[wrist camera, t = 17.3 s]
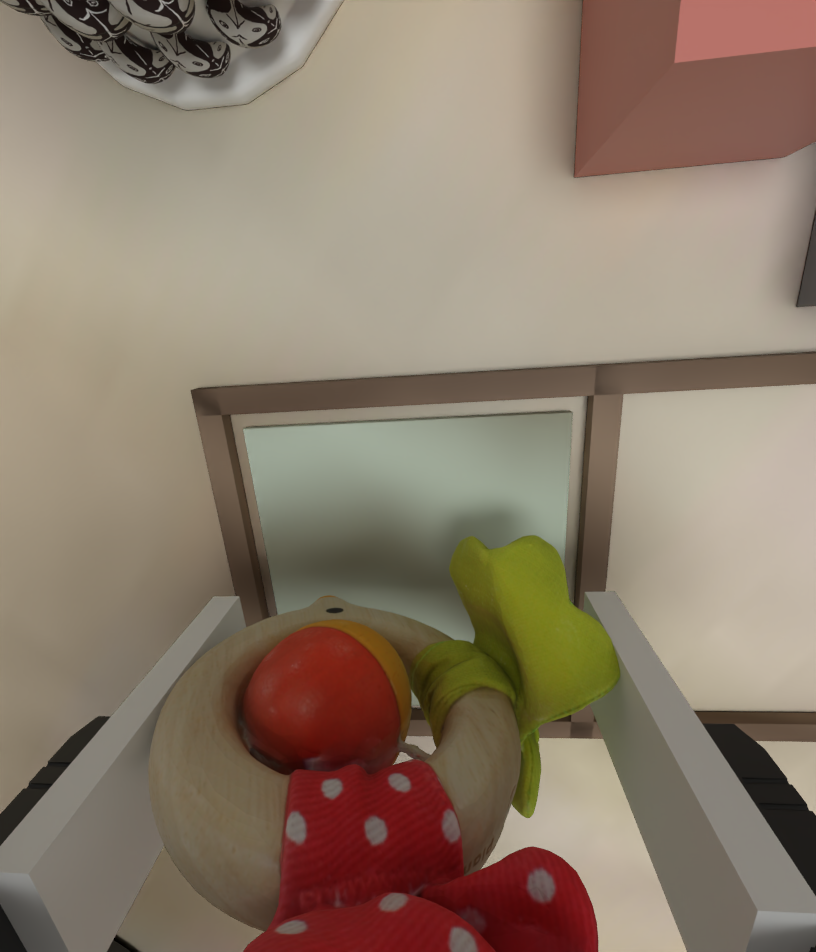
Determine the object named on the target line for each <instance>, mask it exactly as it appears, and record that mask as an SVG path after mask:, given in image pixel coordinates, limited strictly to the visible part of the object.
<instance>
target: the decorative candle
mask: <svg viewBox="0 0 816 952" xmlns="http://www.w3.org/2000/svg"><path fill="white" fill-rule="evenodd" d="M0 1H1V2H2V3H4V4H6V5H8V6H9V7H11V8H13V9H15V10H16V11H19V12H22V13H26V14H30V15H36V16H40V17H41V19H42V21H43V22H44V24H45V25H46V27H47V28H48V30H49V31H50V32H51V34H52V35H53V36H54V37H55V38H56V39H57V40H58V42H59V43H60V44H61V45H63V46H64V47H65V48H66V49H67V50H68V51H69V52H70V53H72V54H74V55H76V56H78V57H79V58H81V59H85V60H89V61H96V62H97V63H98V64H99V65H100V66H101V67H102V68H103V69H104V70H106V71H107V72H108V73H109V74H110V75H111V76H112V77H113V78H114V79H115V80H116V81H118V82H119V83H120V84H121V85H123V86H124V87H126V88H129V89H131V90H134V91H137V92H139V93H142V94H144V95H147V96H150V97H152V98H155V99H157V100H160V101H163V102H165V103H168V104H171V105H173V106H176V107H178V108H181V109H184V110H186V111H187V110H196V109H205V108H215V107H224V106H233V105H242V104H248V103H250V102H251V101H253V100H254V99H256V98H257V97H259V96H260V95H262V94H263V93H264V92H266V91H267V90H269V89H270V88H272V87H273V86H275V85H276V84H278V83H279V82H281V81H282V80H283V79H285V78H286V77H288V76H289V75H291V74H292V73H294V72H295V71H297V70H298V69H300V68H301V67H303V65H304V63H305V62H306V60H307V58H308V57H309V55H310V54H311V52H312V50H313V49H314V47H315V46H316V44H317V42H318V41H319V39H320V38H321V36H322V34H323V33H324V31H325V29H326V28H327V26H328V25H329V23H330V21H331V20H332V18H333V17H334V15H335V13H336V12H337V10H338V8H339V7H340V5H341V4H342V2H343V0H0Z"/></svg>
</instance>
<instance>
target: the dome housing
mask: <svg viewBox="0 0 816 952" xmlns="http://www.w3.org/2000/svg"><path fill="white" fill-rule="evenodd" d="M815 141H816V0H583V8H582V29H581V50H580V70H579V91H578V112H577V132H576V153H575V173H574V177H583V176H594V175H604V174H614V173H625V172H635V171H646V170H656V169H667V168H677V167H687V166H698V165H708V164H719V163H729V162H739V161H750V160H760V159H771V158H781V157H786V156H788V155H790V154H792V153H794V152H796V151H798V150H800V149H802V148H804V147H806V146H807V145H809V144H811V143H813V142H815ZM805 306H816V216H815V221H814V226H813V231H812V236H811V241H810V246H809V250H808V255H807V260H806V265H805V270H804V275H803V280H802V285H801V290H800V295H799V300H798V304H797V307H805Z"/></svg>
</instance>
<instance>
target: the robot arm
mask: <svg viewBox="0 0 816 952" xmlns="http://www.w3.org/2000/svg"><path fill="white" fill-rule="evenodd" d="M583 612H585V613H587V614H589V615H590V616H592V617H593V618H594V619H596V620H597V621H598V622H599V623H600V624H601V625H602V626H603V628H604V629H605V630H606V632H607V633H608V635H609V637H610V638H611V640H612V643H613V646H614V649H615V652H616V656H617V659H618V663H619V668H620V678H619V680H618V682H617V684H616V685H615V687H614V688H613V689H612V690H611V691H610V692H609V693H607V694H606V695H605V696H604V697H602V698H600V699H598V700H596V701H594V702H592V703H591V704H590V706H591V708H592V711H593V714H594V716H595V719H596V721H597V724H598V726H599V729H600V731H601V734H602V736H603V739H604V741H605V744H606V747H607V749H608V752H609V754H610V757H611V759H612V762H613V764H614V767H615V769H616V772H617V775H618V777H619V780H620V782H621V785H622V787H623V790H624V792H625V795H626V797H627V800H628V802H629V805H630V808H631V810H632V813H633V815H634V818H635V820H636V823H637V825H638V828H639V830H640V833H641V835H642V838H643V841H644V843H645V846H646V848H647V851H648V853H649V856H650V858H651V861H652V863H653V866H654V869H655V871H656V874H657V876H658V879H659V881H660V884H661V886H662V889H663V891H664V894H665V896H666V899H667V902H668V904H669V907H670V909H671V912H672V914H673V917H674V919H675V922H676V924H677V927H678V930H679V932H680V935H681V937H682V940H683V942H684V945H685V947H686V950H687V952H816V815H815V814H814V813H813V811H809V809H808V807H807V804H806V802H805V801H804V800H803V798H802V797H801V796H800V795H799V793H798V792H797V791H796V789H795V788H794V787H793V785H790V784H789V783H788V781H787V778H786V776H785V775H784V774H783V772H782V771H781V770H780V768H779V767H778V766H777V765H776V763H775V762H774V761H773V759H772V758H771V757H770V755H769V754H768V753H767V752H766V750H765V749H764V748H763V747H762V746H760V745H759V744H758V743H757V742H756V741H754V740H753V739H752V738H751V737H749V736H748V735H747V734H746V733H745V732H743V731H742V730H741V729H740V728H738V727H737V726H736V725H735V724H712V723H701V721H700V720H699V718H698V717H697V715H696V714H695V712H694V711H693V709H692V708H691V706H690V705H689V703H688V702H687V700H686V699H685V697H684V696H683V694H682V692H681V691H680V689H679V688H678V686H677V685H676V683H675V682H674V680H673V679H672V677H671V676H670V674H669V673H668V671H667V670H666V668H665V667H664V665H663V664H662V662H661V661H660V659H659V658H658V656H657V655H656V653H655V651H654V650H653V648H652V647H651V645H650V644H649V642H648V641H647V639H646V638H645V636H644V635H643V633H642V632H641V630H640V629H639V627H638V626H637V624H636V623H635V621H634V620H633V618H632V617H631V615H630V614H629V612H628V610H627V609H626V607H625V606H624V604H623V603H622V601H621V600H620V598H619V597H618V595H617V594H616V592H615V591H610V592H585V596H584V609H583ZM244 628H246V625H245V620H244V615H243V611H242V606H241V602H240V597H239V596H214V597H213V598H212V599H211V600H210V601H209V602H208V604H207V605H206V606H205V607H204V608H203V609H202V611H201V612H200V613H199V614H198V615H197V616H196V618H195V619H194V620H193V621H192V622H191V623H190V625H189V626H188V627H187V628H186V629H185V630H184V632H183V633H182V634H181V635H180V636H179V637H178V639H177V640H176V641H175V642H174V643H173V645H172V646H171V647H170V648H169V649H168V650H167V652H166V653H165V654H164V655H163V656H162V657H161V659H160V660H159V661H158V662H157V663H156V664H155V666H154V667H153V668H152V669H151V670H150V671H149V673H148V674H147V675H146V676H145V677H144V678H143V680H142V681H141V682H140V683H139V684H138V685H137V687H136V688H135V689H134V690H133V691H132V692H131V694H130V695H129V696H128V697H127V698H126V700H125V701H124V702H123V703H122V704H121V705H120V707H119V708H118V709H117V710H116V711H115V712H114V714H113V715H112V716H111V717H105V716H98V717H97V718H95V719H94V720H93V721H91V722H90V723H89V724H87V725H86V726H85V727H83V728H82V729H81V730H79V731H78V732H77V733H75V734H74V735H73V736H71V737H70V738H69V739H68V740H67V742H66V743H65V744H64V745H63V746H62V747H61V748H60V749H59V750H58V751H57V753H56V754H55V755H54V756H53V757H52V758H51V759H50V760H49V761H48V765H47V766H46V767H43V768H42V769H41V770H40V771H39V772H38V773H37V774H36V776H35V777H34V778H33V779H32V780H31V781H30V782H29V785H28V787H27V788H26V789H23V790H22V791H21V792H20V793H19V794H18V795H17V796H16V798H15V799H14V800H13V801H12V802H11V803H10V804H9V805H8V806H7V807H6V809H5V810H4V811H3V812H2V813H1V814H0V952H130V951H129V950H128V949H126V948H125V947H123V946H122V945H120V944H119V943H117V942H115V941H114V940H113V939H114V938H115V936H116V934H117V932H118V930H119V928H120V926H121V925H122V923H123V921H124V919H125V917H126V915H127V913H128V912H129V910H130V908H131V906H132V904H133V902H134V900H135V899H136V897H137V895H138V893H139V891H140V889H141V887H142V886H143V884H144V882H145V880H146V878H147V876H148V874H149V872H150V871H151V869H152V867H153V865H154V863H155V861H156V859H157V858H158V856H159V854H160V852H161V850H162V848H163V846H164V843H163V841H162V839H161V837H160V834H159V832H158V829H157V825H156V822H155V819H154V815H153V812H152V806H151V800H150V793H149V778H148V767H149V756H150V748H151V743H152V739H153V735H154V731H155V726H156V723H157V720H158V718H159V715H160V712H161V709H162V707H163V705H164V703H165V701H166V699H167V697H168V696H169V694H170V692H171V691H172V689H173V688H174V686H175V685H176V683H177V682H178V681H179V679H180V678H181V677H182V676H183V675H184V674H185V672H186V671H187V670H188V669H189V668H190V667H191V666H192V665H193V664H194V663H195V662H196V661H197V660H198V659H199V658H200V657H201V656H203V655H204V654H205V653H206V652H208V651H209V650H210V649H212V648H213V647H214V646H216V645H217V644H219V643H220V642H222V641H223V640H225V639H227V638H228V637H230V636H232V635H234V634H235V633H237V632H239V631H241V630H242V629H244Z"/></svg>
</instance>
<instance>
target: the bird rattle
mask: <svg viewBox="0 0 816 952" xmlns="http://www.w3.org/2000/svg"><path fill="white" fill-rule="evenodd" d="M449 571H450V575H451V577H452V579H453V581H454V584H455V586H456V589H457V591H458V593H459V596H460V598H461V600H462V603H463V605H464V607H465V609H466V611H467V612H468V614H469V617H470V620H471V623H472V625H473V628H474V631H475V638H474V642H473V644H472V643H471V642H469V641H464V640H454V639H453V638H451V637H450V636H448V635H446V634H444V633H442V632H441V631H439V630H437V629H435V628H433V627H431V626H428V625H426V624H424V623H421V622H419V621H417V620H414V619H411V618H408V617H405V616H402V615H399V614H395V613H392V612H388V611H383V610H378V609H374V608H367V607H361V606H357V605H354V604H351V603H348V602H346V601H345V600H343V599H341V598H338V597H335V596H331V595H328V596H323V597H320V598H319V599H318V600H316V601H315V602H314V603H313V604H311V605H310V606H309V607H306V608H303V609H299V610H295V611H290V612H286V613H283V614H279V615H276V616H273V617H270V618H267V619H264V620H262V621H260V622H257V623H255V624H253V625H251V626H248V627H246V628H244V629H242V630H241V631H239V632H237V633H235V634H234V635H232V636H230V637H228V638H227V639H225V640H223V641H222V642H220V643H219V644H217V645H216V646H214V647H213V648H212V649H210V650H209V651H208V652H206V653H205V654H204V655H203V656H201V657H200V658H199V659H198V660H197V661H196V662H195V663H194V664H193V665H192V666H191V667H190V668H189V669H188V670H187V671H186V672H185V674H184V675H183V676H182V677H181V678H180V679H179V681H178V682H177V683H176V685H175V686H174V688H173V689H172V691H171V692H170V694H169V696H168V697H167V699H166V701H165V703H164V705H163V707H162V709H161V712H160V715H159V718H158V720H157V723H156V726H155V731H154V735H153V739H152V743H151V748H150V756H149V767H148V778H149V793H150V800H151V806H152V812H153V815H154V819H155V822H156V825H157V829H158V832H159V834H160V837H161V839H162V841H163V843H164V846H165V848H166V850H167V851H168V853H169V855H170V856H171V858H172V860H173V862H174V863H175V865H176V866H177V868H178V869H179V871H180V872H181V873H182V875H183V876H184V877H185V878H186V880H187V881H188V882H189V883H190V884H191V886H192V887H193V888H194V889H195V890H196V891H197V892H198V893H199V894H200V895H201V896H202V897H204V898H205V899H206V900H207V901H208V902H210V903H211V904H212V905H213V906H215V907H217V908H218V909H220V910H221V911H223V912H224V913H226V914H228V915H229V916H231V917H233V918H234V919H236V920H238V921H240V922H242V923H244V924H246V925H248V926H251V927H254V928H256V929H259V930H262V931H265V932H264V933H262V934H261V935H260V936H258V937H257V938H256V939H255V940H253V941H252V942H251V943H250V944H248V945H247V947H246V948H245V950H244V951H243V952H598V932H597V922H596V918H595V914H594V910H593V906H592V903H591V901H590V898H589V896H588V893H587V891H586V888H585V886H584V885H583V883H582V881H581V879H580V877H579V875H578V874H577V872H576V871H575V870H574V869H573V868H572V867H571V866H570V865H569V864H568V863H567V862H566V861H565V860H564V859H563V858H561V857H559V856H557V855H556V854H554V853H552V852H550V851H548V850H545V849H541V848H537V847H527V848H523V849H521V850H519V851H516V852H514V853H511V854H509V855H508V856H506V857H505V858H503V859H502V860H500V861H499V862H497V863H495V864H492V865H490V866H488V867H486V868H483V869H481V868H482V866H483V865H484V864H485V862H486V861H487V859H488V858H489V856H490V854H491V853H492V851H493V849H494V848H495V846H496V843H497V841H498V839H499V837H500V835H501V832H502V830H503V827H504V823H505V820H506V817H507V815H508V812H509V809H510V806H511V804H512V805H513V807H514V808H515V809H516V810H517V811H518V812H519V813H520V814H521V815H522V816H524V817H526V818H530V817H531V816H532V815H533V813H534V810H535V806H536V802H537V796H538V790H539V782H540V774H541V761H540V753H539V744H538V741H539V736H540V735H539V729H538V728H539V727H540V725H542V724H544V723H548V722H551V721H554V720H557V719H560V718H563V717H566V716H569V715H572V714H574V713H576V712H578V711H580V710H582V709H583V708H585V707H586V706H587V705H589V704H591V703H592V702H594V701H596V700H598V699H600V698H602V697H604V696H605V695H606V694H607V693H609V692H610V691H611V690H612V689H613V688H614V687H615V685H616V684H617V682H618V680H619V678H620V668H619V663H618V659H617V656H616V652H615V649H614V646H613V643H612V640H611V638H610V637H609V635H608V633H607V632H606V630H605V629H604V628H603V626H602V625H601V624H600V623H599V622H598V621H597V620H596V619H594V618H593V617H592V616H590V615H589V614H587V613H585V612H583V611H581V610H580V609H578V608H577V607H576V606H575V605H574V604H573V603H572V602H571V601H570V599H569V594H568V586H567V581H566V572H565V569H564V565H563V562H562V560H561V557H560V555H559V553H558V552H557V550H556V549H555V548H554V547H553V546H552V545H551V544H549V543H548V542H546V541H545V540H543V539H542V538H541V537H539V536H536V535H528V536H523V537H521V538H519V539H517V540H515V541H513V542H511V543H510V544H508V545H506V546H504V547H500V548H493V549H488V548H487V547H486V546H485V545H484V544H483V543H482V542H481V541H480V540H479V539H477V538H476V537H474V536H469V537H467V538H465V539H463V540H461V541H460V542H459V544H458V546H457V547H456V549H455V551H454V553H453V555H452V559H451V562H450V566H449ZM411 690H412V692H413V693H414V695H415V696H416V698H417V699H418V702H419V704H420V707H421V709H422V711H423V713H424V716H425V719H426V721H427V723H428V724H429V726H430V727H431V731H432V736H433V739H434V743H435V746H436V748H437V749H436V750H435V751H434V752H433V753H432V755H429V754H427V753H425V752H424V751H422V750H420V749H419V748H418V746H415V745H409V744H407V743H405V739H406V736H407V733H408V729H409V725H410V719H411V713H412V710H411V704H412V694H411ZM400 752H404V753H406V754H408V755H409V756H410V757H412V758H414V759H411V760H408V761H406V762H402V763H399V764H395V765H393V764H394V763H395V761H396V759H397V757H398V755H399V753H400ZM480 869H481V870H480Z"/></svg>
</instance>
